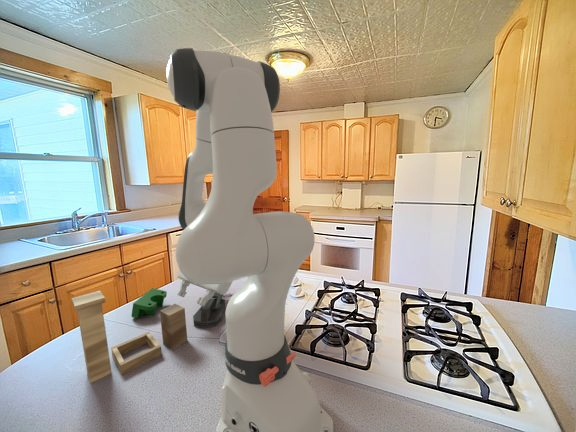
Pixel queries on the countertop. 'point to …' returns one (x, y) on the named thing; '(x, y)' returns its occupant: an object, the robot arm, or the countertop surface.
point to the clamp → (148, 303)
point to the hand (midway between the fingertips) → (189, 300)
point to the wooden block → (173, 326)
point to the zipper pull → (210, 312)
